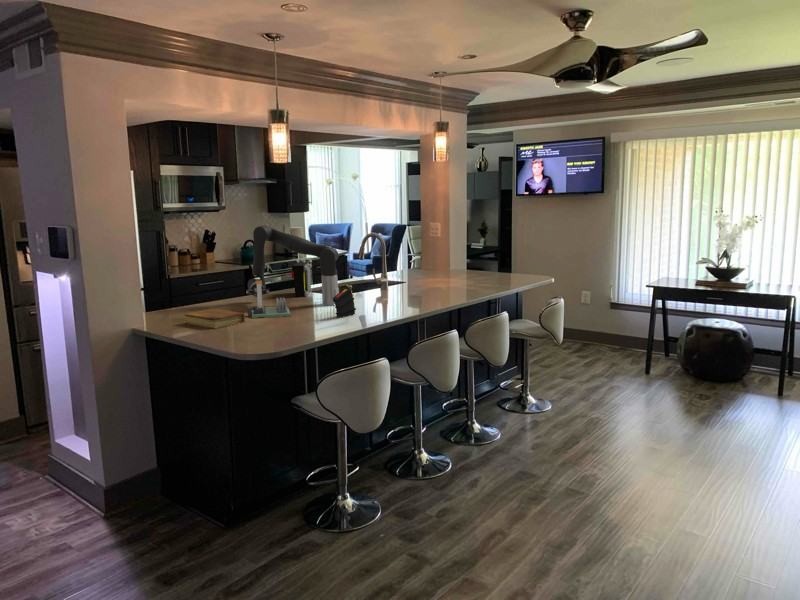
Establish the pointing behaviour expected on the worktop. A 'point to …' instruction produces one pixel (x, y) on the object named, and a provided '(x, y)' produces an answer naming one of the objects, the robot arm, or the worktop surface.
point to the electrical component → (301, 278)
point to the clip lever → (259, 294)
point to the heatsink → (280, 309)
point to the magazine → (344, 303)
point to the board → (271, 313)
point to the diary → (214, 318)
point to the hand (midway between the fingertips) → (258, 294)
